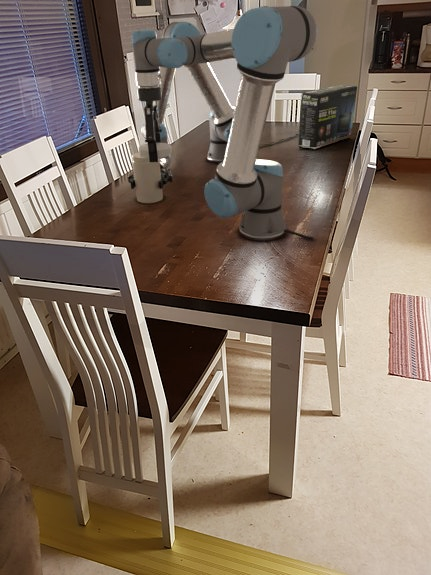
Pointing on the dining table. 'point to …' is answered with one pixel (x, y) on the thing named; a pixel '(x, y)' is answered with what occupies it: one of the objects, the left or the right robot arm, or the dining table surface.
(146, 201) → the jar
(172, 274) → the dining table surface
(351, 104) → the router box
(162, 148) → the lid
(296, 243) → the dining table surface
